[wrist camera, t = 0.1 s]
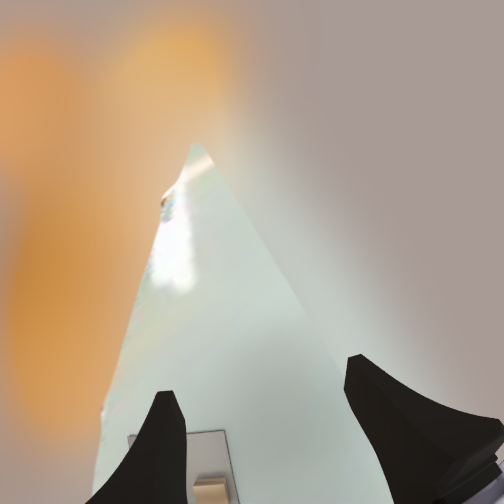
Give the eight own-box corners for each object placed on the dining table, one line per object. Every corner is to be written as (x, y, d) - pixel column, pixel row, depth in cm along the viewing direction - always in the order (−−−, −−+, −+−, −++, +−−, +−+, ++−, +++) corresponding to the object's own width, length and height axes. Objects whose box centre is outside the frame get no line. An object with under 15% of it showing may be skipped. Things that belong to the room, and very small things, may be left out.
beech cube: (230, 500, 32) (229, 509, 28) (201, 502, 31) (198, 511, 28) (225, 476, 33) (223, 483, 30) (196, 479, 33) (192, 486, 29)
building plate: (241, 513, 31) (241, 515, 30) (147, 517, 30) (145, 519, 29) (223, 430, 37) (223, 430, 37) (129, 435, 36) (127, 436, 35)
